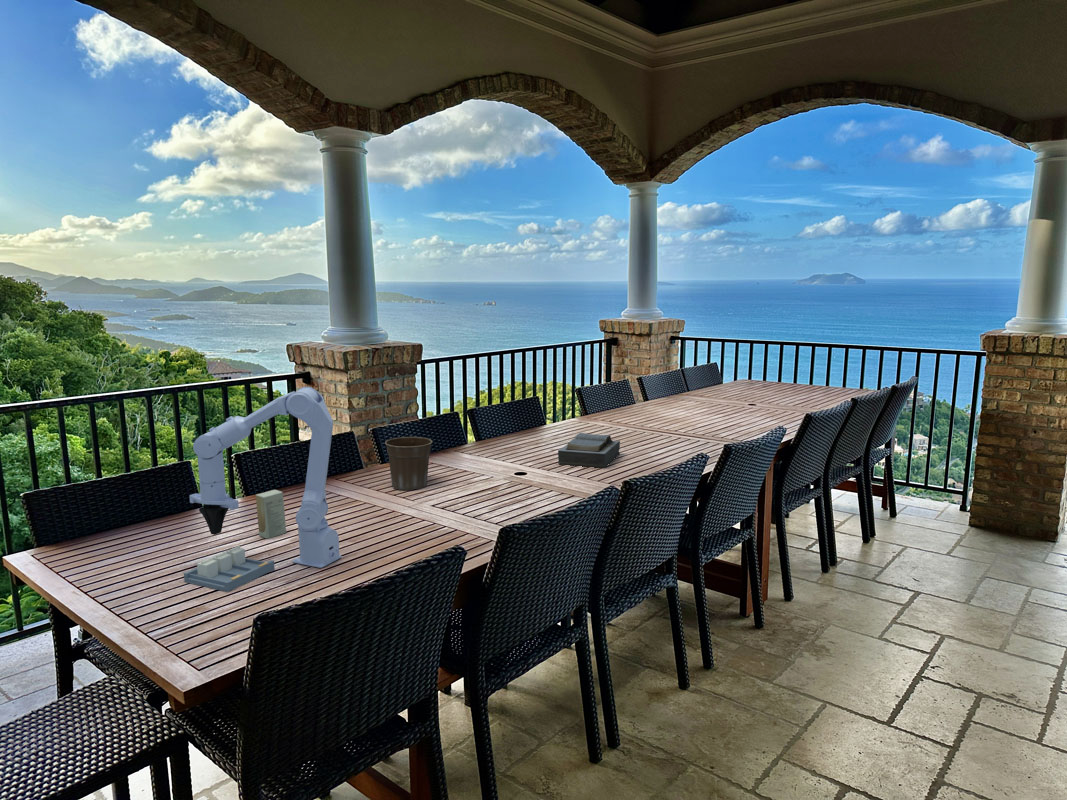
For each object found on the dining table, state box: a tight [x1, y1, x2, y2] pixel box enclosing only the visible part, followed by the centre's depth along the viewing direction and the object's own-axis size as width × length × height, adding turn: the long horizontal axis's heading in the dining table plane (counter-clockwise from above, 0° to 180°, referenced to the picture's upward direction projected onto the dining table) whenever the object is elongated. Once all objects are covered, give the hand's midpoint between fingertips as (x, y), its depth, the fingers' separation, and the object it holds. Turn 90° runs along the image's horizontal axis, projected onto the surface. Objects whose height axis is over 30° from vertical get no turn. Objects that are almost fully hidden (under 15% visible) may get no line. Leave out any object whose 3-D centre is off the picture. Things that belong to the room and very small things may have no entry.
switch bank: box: [183, 557, 275, 593], centre depth 169 cm, size 14×14×2 cm
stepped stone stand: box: [557, 432, 621, 469], centre depth 282 cm, size 23×27×10 cm
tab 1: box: [196, 557, 218, 578], centre depth 166 cm, size 3×3×4 cm
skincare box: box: [255, 489, 287, 540], centre depth 197 cm, size 6×4×12 cm
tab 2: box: [211, 551, 232, 572], centre depth 170 cm, size 3×3×4 cm
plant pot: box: [384, 436, 433, 492], centre depth 245 cm, size 16×16×16 cm
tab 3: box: [225, 545, 246, 565], centre depth 174 cm, size 3×3×4 cm
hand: (216, 533), depth 175 cm, fingers closed
